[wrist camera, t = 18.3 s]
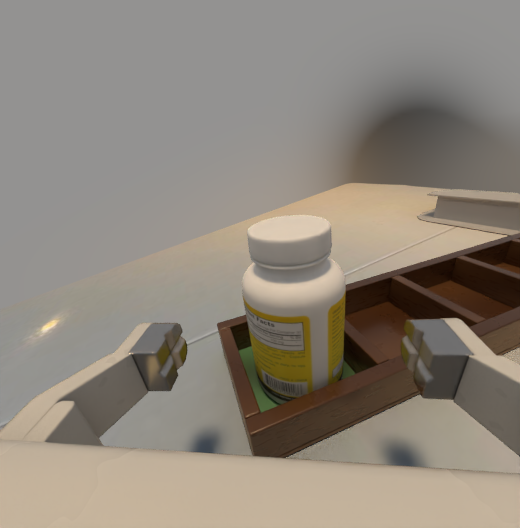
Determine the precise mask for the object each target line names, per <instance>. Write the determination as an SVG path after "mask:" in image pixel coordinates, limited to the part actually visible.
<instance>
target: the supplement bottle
mask: <svg viewBox="0 0 520 528" xmlns="http://www.w3.org/2000/svg"><path fill="white" fill-rule="evenodd" d="M247 236H248V244H249V252H250V256H251V260H252V261H253V262H254V263H253V264H252V265H251V266H250V267H249V268H248V269H247V270H246V272H245V274H244V276H243V279H242V294H243V300H244V305H245V311H246V317H247V322H248V328H249V333H250V339H251V345H252V350H253V356H254V361H255V367H256V373H257V376H258V380H259V382H260V384H261V386H262V388H263V390H264V391H265V392H266V394H267V395H268V396H269V397H271V398H272V399H273V400H275V401H276V402H278V403H280V404H283V403H286V402H288V401H291V400H293V399H296V398H298V397H301V396H303V395H305V394H308V393H310V392H313V391H315V390H318V389H320V388H322V387H325V386H327V385H330V384H332V383H335V382H337V381H339V380H342V375H343V351H344V322H345V295H346V284H345V276H344V273H343V271H342V269H341V267H340V266H339V265H338V264H337V263H336V262H335V261H333V260H332V259H330V258H328V257H329V255H330V253H331V247H332V242H331V224H330V222H329V221H328V220H326V219H325V218H322V217H318V216H310V215H288V216H280V217H274V218H270V219H266V220H263V221H260V222H257V223H255V224H253V225H252V226H251V227H250V228H249V229H248V231H247Z"/></svg>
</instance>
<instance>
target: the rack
mask: <svg viewBox="0 0 520 528" xmlns="http://www.w3.org/2000/svg"><path fill="white" fill-rule="evenodd" d="M440 318H458V319H460V320H462V321H463V322H464V323H465V324H466V325H467V326H468V327H469V328H470V329H471V330H472V331H473V332H474V333H475V334H476V335H477V336H478V337H479V338H480V339H481V340H482V341H483V343H484V344H485V345H486V346H487V347H488V348H489V349H490V350H491V351H492V352H493V353H494V354H495V355H496V356H500V355H503V354H505V353H507V352H509V351H511V350H513V349H515V348H517V347H519V346H520V233H517V234H514V235H511V236H507V237H504V238H501V239H497V240H494V241H491V242H487V243H484V244H481V245H477V246H474V247H471V248H467V249H464V250H461V251H457V252H454V253H451V254H447V255H444V256H441V257H437V258H434V259H431V260H427V261H424V262H421V263H417V264H414V265H411V266H407V267H404V268H401V269H397V270H394V271H391V272H387V273H384V274H381V275H377V276H374V277H371V278H367V279H364V280H361V281H357V282H354V283H351V284H347V285H346V295H345V322H344V351H343V375H342V380H339V381H337V382H335V383H332V384H330V385H327V386H325V387H322V388H320V389H318V390H315V391H313V392H310V393H308V394H305V395H303V396H301V397H298V398H296V399H293V400H291V401H288V402H286V403H283V404H280V403H278V402H276V401H275V400H273V399H272V398H271V397H269V396H268V395H267V394H266V392H265V391H264V390H263V388H262V386H261V384H260V382H259V380H258V376H257V373H256V367H255V361H254V356H253V350H252V345H251V339H250V333H249V328H248V322H247V317H246V315H244V316H240V317H237V318H234V319H230V320H227V321H224V322H220V323H217V326H218V331H219V335H220V339H221V344H222V348H223V352H224V356H225V359H226V363H227V366H228V370H229V373H230V377H231V380H232V384H233V388H234V391H235V395H236V398H237V402H238V405H239V409H240V412H241V416H242V419H243V423H244V427H245V430H246V434H247V437H248V441H249V444H250V448H251V451H252V455H253V456H260V457H275V458H284V457H287V456H289V455H291V454H293V453H295V452H297V451H299V450H301V449H304V448H306V447H308V446H310V445H312V444H314V443H316V442H318V441H320V440H323V439H325V438H327V437H329V436H331V435H333V434H335V433H337V432H340V431H342V430H344V429H346V428H348V427H350V426H352V425H354V424H356V423H359V422H361V421H363V420H365V419H367V418H369V417H371V416H373V415H376V414H378V413H380V412H382V411H384V410H386V409H388V408H390V407H392V406H395V405H397V404H399V403H401V402H403V401H405V400H407V399H409V398H411V397H414V396H416V395H418V394H420V392H419V390H418V388H417V386H416V385H415V383H414V381H413V376H414V373H413V372H412V371H411V370H409V369H408V368H407V367H406V365H405V363H404V361H403V358H402V355H401V339H402V338H403V337H405V336H406V335H407V334H406V333H405V331H404V329H403V328H404V323H405V322H406V320H412V319H440Z"/></svg>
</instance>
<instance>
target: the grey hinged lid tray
mask: <svg viewBox="0 0 520 528" xmlns="http://www.w3.org/2000/svg"><path fill="white" fill-rule="evenodd" d="M427 195H430V196H438V199H437V204H436V208H435V209H433V210H430V211H427V212H425V213H422V214H420V215H419V216H417V217H418V218H419V219H421V220H424V221H429V222H435V223H441V224H446V225H452V226H458V227H464V228H470V229H476V230H482V231H488V232H493V233H499V234H505V235H514V234H517V233H520V193H507V192H492V191H477V190H462V189H450V190H441V191H435V192H432V193H429V194H427Z"/></svg>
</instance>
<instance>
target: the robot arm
mask: <svg viewBox="0 0 520 528" xmlns="http://www.w3.org/2000/svg"><path fill="white" fill-rule="evenodd" d="M403 329H404V331H405V333H406V334H407V335H406V336H405V337H403V338H402V339H401V355H402V358H403V361H404V363H405V365H406V367H407V368H408V369H409V370H411V371H412V372H413V373H414V376H413V381H414V383H415V385H416V386H417V388H418V390H419V392H420V394H421V396H422V398H429V399H447V400H454V402H455V403H456V404H457V405H459V406H460V407H461V408H462V409H463V410H465V411H466V412H467V413H468V414H469V415H471V416H472V417H473V418H474V419H475V420H477V421H478V422H479V423H480V424H481V425H483V426H484V427H485V428H486V429H487V430H489V431H490V432H491V433H492V434H493V435H495V436H496V437H497V438H498V439H499V440H501V441H502V442H503V443H504V444H505V445H507V446H508V447H509V448H510V449H511V450H513V451H514V452H515V453H516V454H517V455H519V456H520V364H518V363H516V362H514V361H512V360H510V359H508V358H506V357H504V356H496V355H495V354H494V353H493V352H492V351H491V350H490V349H489V348H488V347H487V346H486V345H485V344H484V343H483V341H482V340H481V339H480V338H479V337H478V336H477V335H476V334H475V333H474V332H473V331H472V330H471V329H470V328H469V327H468V326H467V325H466V324H465V323H464V322H463V321H462V320H460V319H458V318H440V319H412V320H406V322H405V323H404V328H403ZM181 333H182V328H181V326H180V324H178V323H141V324H139V325H138V326H137V327H136V328H135V329H134V330H133V332H132V333H131V334H130V335H129V336H128V337H127V339H126V340H125V341H124V342H123V343H122V345H121V346H120V347H119V348H118V349H117V350H116V352H115V353H114V354H109V355H107V356H105V357H103V358H102V359H100V360H98V361H97V362H95V363H93V364H91V365H90V366H88V367H86V368H84V369H83V370H81V371H79V372H78V373H76V374H74V375H72V376H71V377H69V378H67V379H65V380H64V381H62V382H60V383H59V384H57V385H55V386H53V387H52V388H50V389H48V390H46V391H45V392H43V393H41V394H40V395H38V396H36V397H34V398H33V399H32V400H31V401H30V402H29V403H28V404H27V405H26V406H25V407H24V408H23V409H22V410H21V411H20V412H19V413H18V414H17V415H16V416H15V417H14V418H13V419H12V420H11V421H10V422H9V423H8V424H7V425H6V426H5V427H3V428H2V429H1V430H0V528H520V474H518V473H503V472H487V471H472V470H457V469H442V468H427V467H412V466H397V465H381V464H366V463H351V462H336V461H321V460H306V459H290V458H275V457H260V456H245V455H229V454H214V453H199V452H184V451H169V450H154V449H139V448H124V447H109V446H103V444H102V443H101V441H100V440H99V437H100V436H102V435H103V434H104V433H105V432H106V431H107V430H108V429H109V428H110V427H111V426H112V425H114V424H115V423H116V422H117V421H118V420H119V419H120V418H121V417H122V416H123V415H124V414H125V413H127V412H128V411H129V410H130V409H131V408H132V407H133V406H134V405H135V404H136V403H137V402H138V401H140V400H141V399H142V398H143V397H144V396H145V395H146V394H147V393H148V391H171V389H172V387H173V385H174V383H175V381H176V379H177V376H178V373H177V369H179V368H180V367H181V366H183V364H184V362H185V360H186V355H187V344H186V341H185V339H183V338H182V337H181V336H180V335H181Z"/></svg>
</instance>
